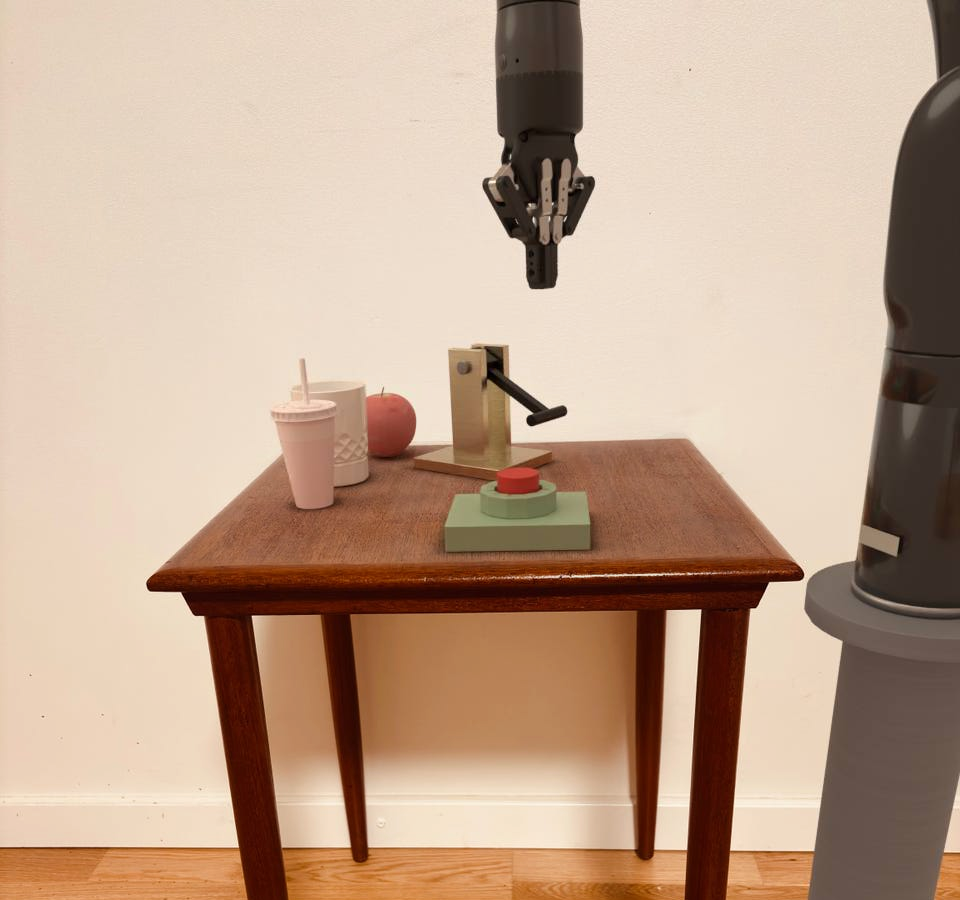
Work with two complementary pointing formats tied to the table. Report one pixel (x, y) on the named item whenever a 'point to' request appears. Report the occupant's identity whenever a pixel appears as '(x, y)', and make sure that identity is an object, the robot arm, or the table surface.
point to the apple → (389, 424)
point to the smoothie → (308, 446)
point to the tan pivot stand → (479, 420)
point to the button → (518, 481)
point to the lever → (522, 395)
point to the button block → (518, 521)
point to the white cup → (344, 426)
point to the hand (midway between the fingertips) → (542, 288)
